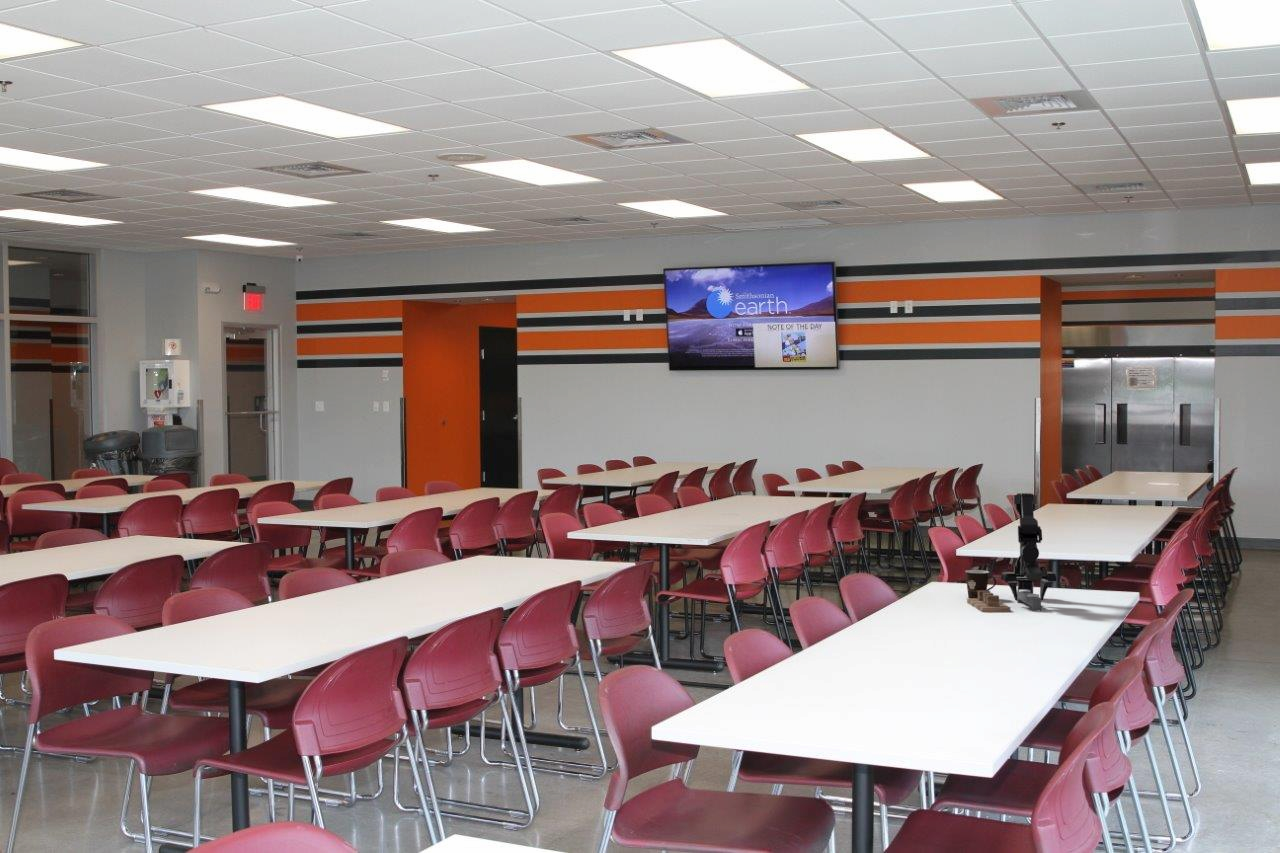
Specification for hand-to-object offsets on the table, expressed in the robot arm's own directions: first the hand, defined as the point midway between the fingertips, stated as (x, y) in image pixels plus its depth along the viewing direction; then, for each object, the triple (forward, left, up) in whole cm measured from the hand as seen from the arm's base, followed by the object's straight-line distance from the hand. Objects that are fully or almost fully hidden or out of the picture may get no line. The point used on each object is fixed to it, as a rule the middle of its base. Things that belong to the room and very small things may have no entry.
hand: (1028, 600), depth 441 cm
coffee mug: (-18, -13, -2) cm, 22 cm away
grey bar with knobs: (0, 0, -2) cm, 2 cm away
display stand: (+1, -15, -2) cm, 15 cm away
